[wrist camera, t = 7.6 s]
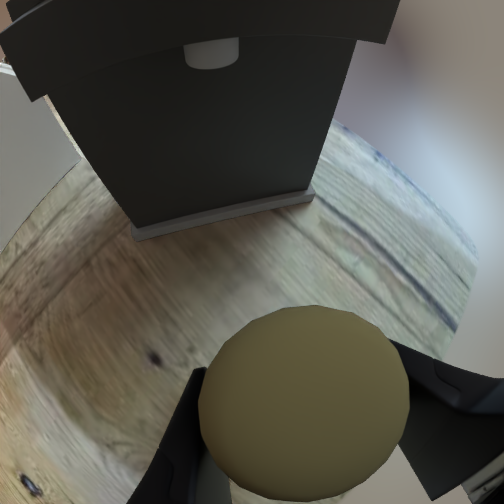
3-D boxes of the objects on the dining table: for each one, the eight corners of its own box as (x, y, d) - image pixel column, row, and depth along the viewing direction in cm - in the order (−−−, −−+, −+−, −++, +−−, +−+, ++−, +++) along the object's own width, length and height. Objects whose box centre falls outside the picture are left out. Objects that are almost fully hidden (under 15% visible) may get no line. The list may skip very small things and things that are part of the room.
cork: (342, 368, 15) (479, 369, 4) (276, 444, 13) (324, 561, 3) (265, 306, 16) (302, 213, 6) (196, 381, 14) (105, 424, 4)
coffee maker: (323, 226, 22) (441, -24, 3) (139, 270, 20) (-47, 44, 1) (286, 142, 25) (320, -62, 6) (132, 175, 23) (49, -20, 5)
